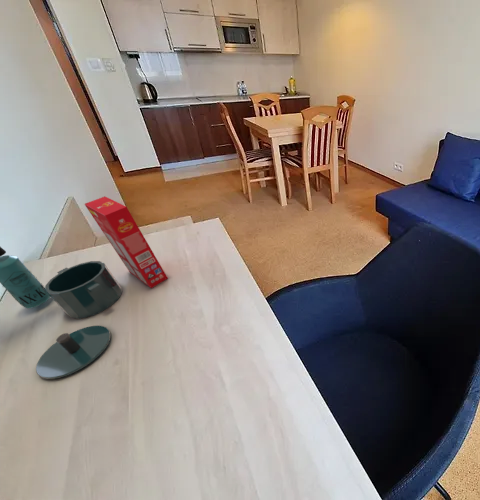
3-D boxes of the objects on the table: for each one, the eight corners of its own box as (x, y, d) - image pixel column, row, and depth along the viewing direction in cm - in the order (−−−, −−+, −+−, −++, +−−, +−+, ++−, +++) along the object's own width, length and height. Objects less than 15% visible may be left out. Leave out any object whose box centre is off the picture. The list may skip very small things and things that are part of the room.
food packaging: (168, 278, 94) (126, 206, 80) (151, 288, 91) (104, 215, 76) (146, 263, 102) (104, 196, 87) (130, 272, 98) (84, 203, 84)
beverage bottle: (21, 312, 87) (-36, 256, 76) (43, 295, 93) (-7, 241, 81) (39, 313, 86) (-16, 257, 75) (60, 296, 91) (12, 242, 80)
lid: (56, 391, 65) (38, 375, 62) (28, 365, 71) (10, 350, 68) (124, 340, 75) (111, 324, 72) (94, 321, 81) (81, 306, 78)
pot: (87, 328, 80) (64, 302, 74) (54, 307, 88) (31, 282, 82) (136, 294, 89) (119, 269, 83) (103, 278, 97) (85, 254, 92)
